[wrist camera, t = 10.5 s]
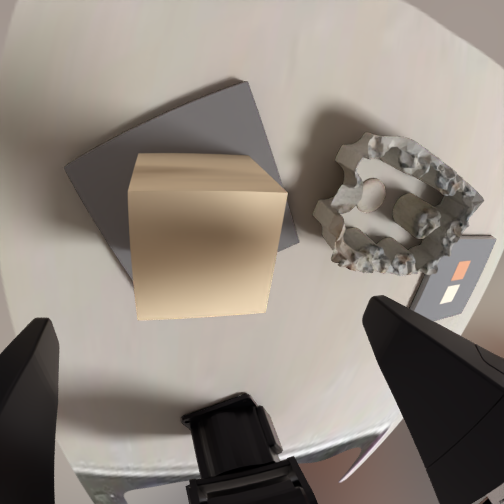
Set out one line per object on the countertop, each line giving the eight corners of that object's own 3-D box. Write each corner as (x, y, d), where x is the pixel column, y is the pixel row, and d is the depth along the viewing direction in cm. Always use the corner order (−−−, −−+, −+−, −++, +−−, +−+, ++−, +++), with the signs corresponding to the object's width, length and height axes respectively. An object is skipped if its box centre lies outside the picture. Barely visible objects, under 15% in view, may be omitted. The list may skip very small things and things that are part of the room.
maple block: (237, 249, 17) (265, 312, 13) (140, 252, 15) (137, 320, 11) (248, 155, 14) (287, 193, 10) (138, 153, 13) (127, 191, 9)
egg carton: (294, 229, 18) (325, 268, 15) (350, 110, 15) (398, 124, 12) (407, 264, 23) (440, 296, 19) (453, 179, 20) (493, 202, 16)
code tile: (457, 310, 29) (461, 313, 28) (402, 324, 26) (405, 328, 26) (492, 236, 24) (496, 239, 24) (440, 235, 22) (445, 239, 21)
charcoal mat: (151, 300, 18) (151, 307, 17) (67, 164, 13) (63, 167, 12) (295, 237, 18) (299, 242, 18) (244, 81, 13) (247, 81, 13)
